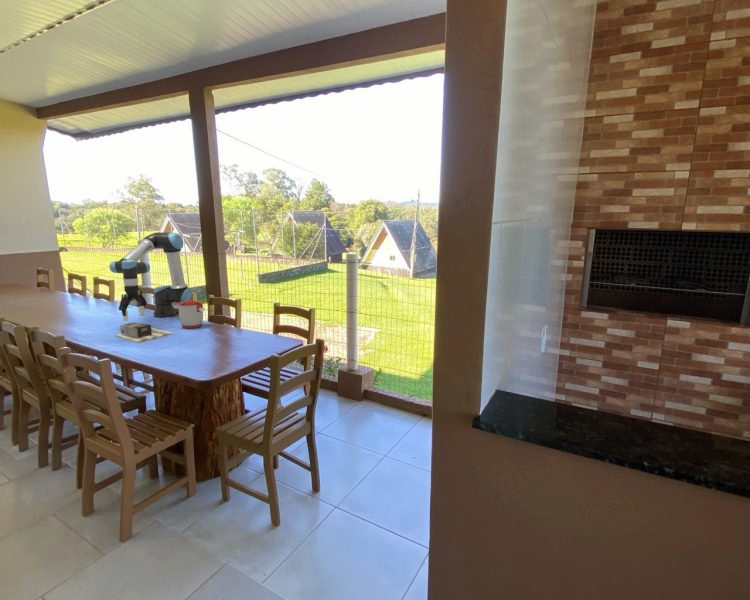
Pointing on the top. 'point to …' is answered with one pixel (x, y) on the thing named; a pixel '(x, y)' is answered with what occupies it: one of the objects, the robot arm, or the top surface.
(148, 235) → the robot arm
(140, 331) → the coffee box
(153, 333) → the striped cloth
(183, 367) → the top surface
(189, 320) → the citrus juicer
